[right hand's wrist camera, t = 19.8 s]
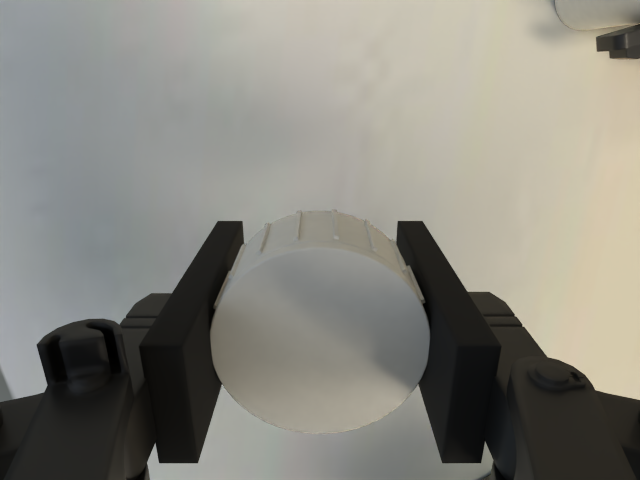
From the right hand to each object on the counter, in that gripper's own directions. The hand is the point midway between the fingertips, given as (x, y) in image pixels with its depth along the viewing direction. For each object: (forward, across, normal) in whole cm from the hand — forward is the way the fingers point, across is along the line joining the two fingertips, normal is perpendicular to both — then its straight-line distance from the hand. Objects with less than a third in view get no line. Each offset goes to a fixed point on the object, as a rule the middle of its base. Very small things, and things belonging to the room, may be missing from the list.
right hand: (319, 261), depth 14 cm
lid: (-4, 0, 0) cm, 4 cm away
